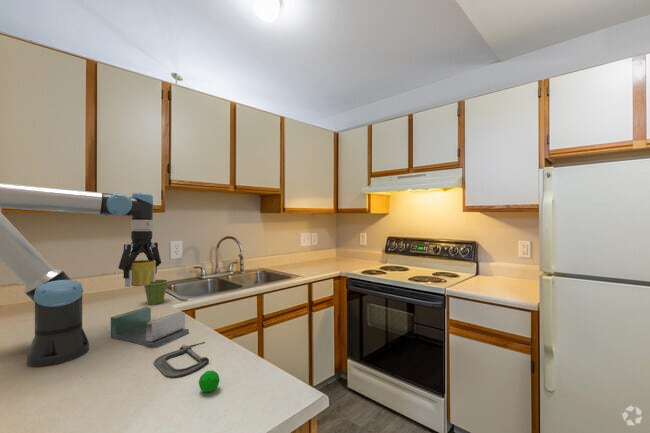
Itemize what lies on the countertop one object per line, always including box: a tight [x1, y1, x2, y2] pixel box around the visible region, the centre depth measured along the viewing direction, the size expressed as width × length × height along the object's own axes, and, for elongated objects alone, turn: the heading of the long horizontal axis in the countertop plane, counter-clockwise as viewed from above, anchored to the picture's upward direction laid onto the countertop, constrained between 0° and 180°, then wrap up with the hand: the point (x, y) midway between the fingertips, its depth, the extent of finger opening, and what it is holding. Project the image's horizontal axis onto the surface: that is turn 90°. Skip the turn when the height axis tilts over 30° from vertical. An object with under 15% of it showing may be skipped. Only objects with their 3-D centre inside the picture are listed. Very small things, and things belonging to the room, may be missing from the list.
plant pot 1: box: [130, 259, 156, 287], centre depth 125 cm, size 10×10×10 cm
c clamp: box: [153, 341, 210, 379], centre depth 95 cm, size 20×17×3 cm
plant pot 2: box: [143, 278, 169, 305], centre depth 159 cm, size 12×12×11 cm
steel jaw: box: [146, 311, 186, 341], centre depth 111 cm, size 14×3×6 cm, turn 157°
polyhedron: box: [198, 369, 221, 393], centre depth 78 cm, size 5×5×5 cm
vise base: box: [110, 306, 190, 349], centre depth 115 cm, size 14×24×8 cm, turn 67°
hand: (140, 284), depth 125 cm, fingers closed on plant pot 1, 10 cm apart
